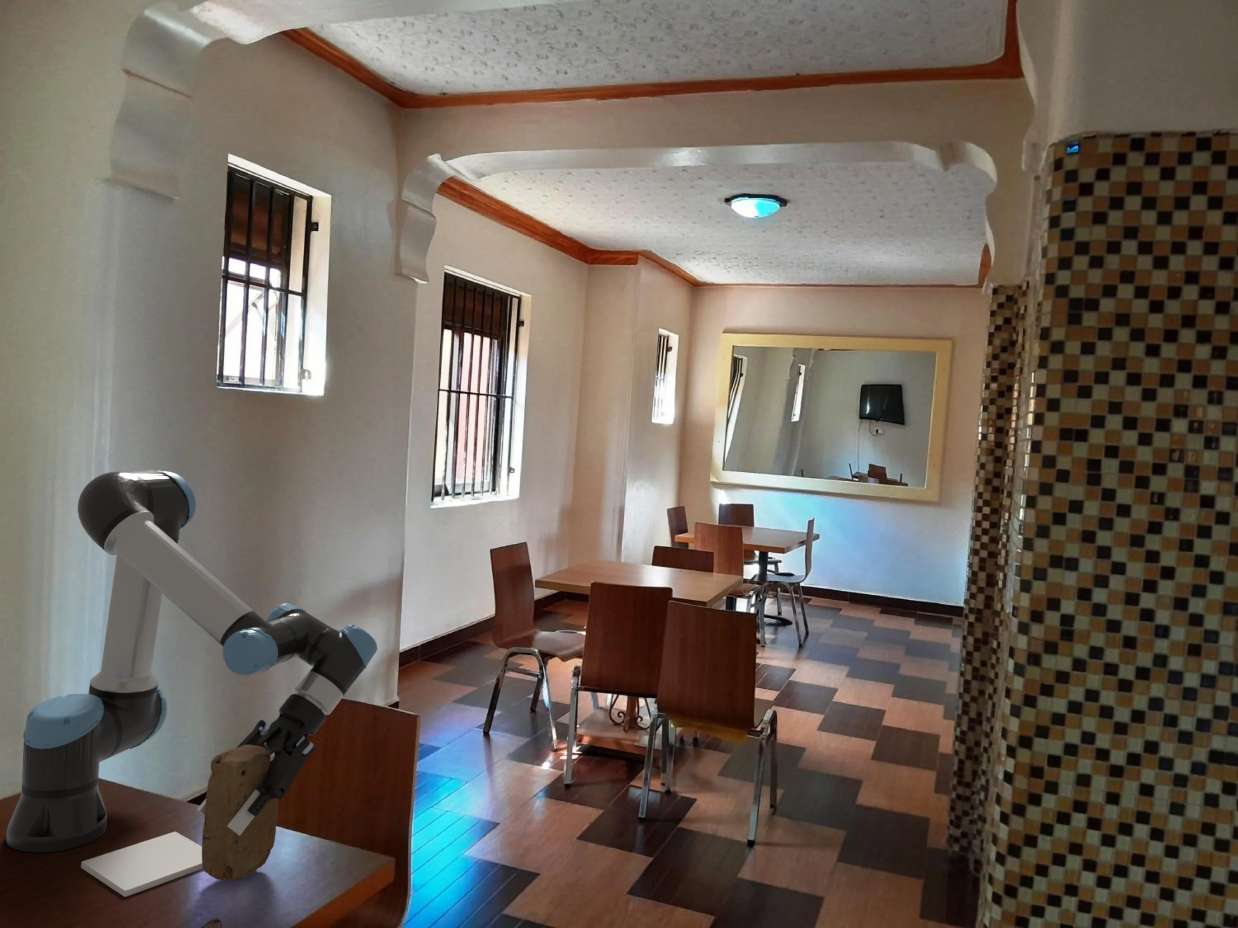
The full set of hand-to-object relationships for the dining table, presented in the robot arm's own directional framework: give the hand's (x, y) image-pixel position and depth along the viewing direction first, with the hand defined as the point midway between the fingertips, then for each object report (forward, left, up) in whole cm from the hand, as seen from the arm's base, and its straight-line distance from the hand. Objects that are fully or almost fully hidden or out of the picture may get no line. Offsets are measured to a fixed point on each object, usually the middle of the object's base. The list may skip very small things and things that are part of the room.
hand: (218, 822), depth 147 cm
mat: (-14, -3, -11) cm, 18 cm away
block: (0, +4, -9) cm, 10 cm away
